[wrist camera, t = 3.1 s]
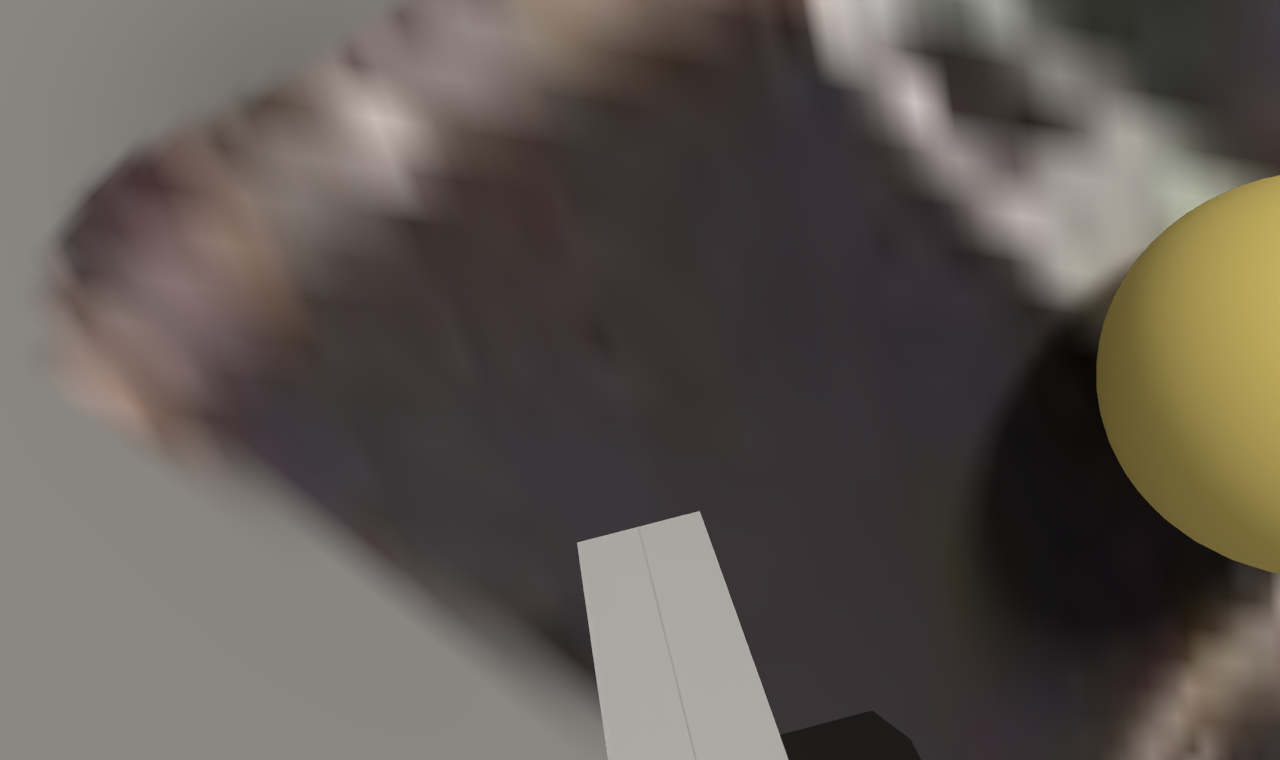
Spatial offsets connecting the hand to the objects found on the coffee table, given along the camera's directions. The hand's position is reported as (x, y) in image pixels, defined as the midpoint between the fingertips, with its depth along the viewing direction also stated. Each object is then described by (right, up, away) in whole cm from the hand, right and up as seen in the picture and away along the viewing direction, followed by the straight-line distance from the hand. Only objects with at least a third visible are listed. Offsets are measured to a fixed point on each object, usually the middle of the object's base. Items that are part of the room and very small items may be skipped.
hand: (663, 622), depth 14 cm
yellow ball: (+9, +3, +2) cm, 10 cm away
